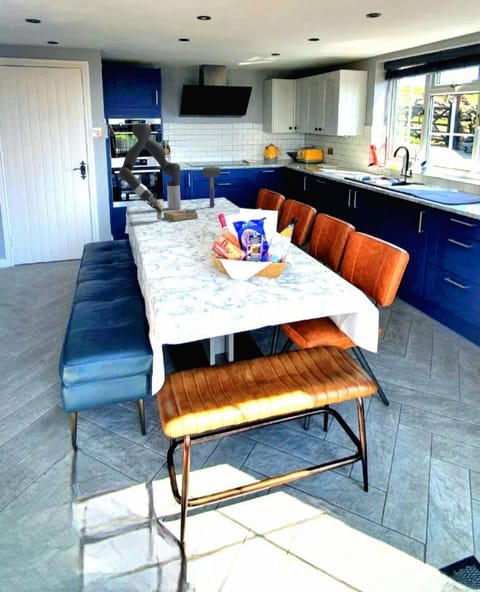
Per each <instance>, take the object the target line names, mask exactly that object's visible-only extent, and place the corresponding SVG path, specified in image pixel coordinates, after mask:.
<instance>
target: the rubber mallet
mask: <svg viewBox="0 0 480 592" xmlns="http://www.w3.org/2000/svg"><path fill="white" fill-rule="evenodd" d="M202 176H203V177H204V178H209V207H210V208H215V205H216V203H215V188H214V178H216V177H217V178H219V177H221V168H220V167H219V166H207V167H204V166H203V168H202Z"/></svg>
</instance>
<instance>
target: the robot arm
mask: <svg viewBox="0 0 480 592" xmlns="http://www.w3.org/2000/svg"><path fill="white" fill-rule="evenodd" d="M131 129H132V134H133V135H134V137H135V138H136V139H137V141H136V143H135V144H134V145H132V147H131V148H130V149H129V150H128V152H127V153H126V155H125V158H124V161H123V164H122V166H121V168H120V169H119V171H118V177H119V179H120V180H121V181H125V182H126V183H127V184H128V186H129V188H130V189H132V191H134V192H135V194H136V195H137V196H138V197H139V198H140V199H141V200H142V201H144V202H146V201H147V202H146V204H148V205H147V206H149V207H151V208H152V209H153V210H155V209H156V210H157V211H158V212H159V213H160V212H161V211H162V210H161V209H160V208H159V207H158V206H157V205H156V202H155V201H159V200H158V199H157V197H155V196H152V195H153V193H152V191H150V190H149V189H148V187H147V186H146V185H144V184H143V183H142V182H141V181H140V180H139V179H138V178H136V176H135V175H134V173H133V172H132V171H133V169H134V168H135V167H134V166H135V165H136V162H137V160H138V158H139V155H140V154H141V151H142V150H143V149H144V148H145V149H146V150H147V151H148V152H149V154H150V155H151V156H152V157H153V159H155V161H156V163H158V164H159V166H160V168H161V169H162V171H163V173H164V174H165V175H166V176H169V177H172V178H171V179H170V180H168V181H167V183H166V189H167V196H166V197H167V208H168V210H170V211H177V210H182V209H181V207H182V205H181V204H182V203H181V187H180V185H181V165H180V164H179V163H177V162H176V163H175V162H169V161H168V160H167V158H166V151H165V148H164V147H163V146H162V145H161V144H160V143H159V142H158V141H156V140H155V139H154V138H152V137H151V135H152V128H151V126H150V124H146V123H145V124H144V123H134V124H133V125H132V128H131ZM164 210H165V208H164V207H163V211H164Z"/></svg>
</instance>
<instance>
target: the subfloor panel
mask: <svg viewBox="0 0 480 592" xmlns="http://www.w3.org/2000/svg"><path fill="white" fill-rule="evenodd" d="M186 210H188V209H187V208H186V209H185V208H184V209H176V210H169V211H163V219H166V220H169V221H172V222H174V223H175V222H181V221H189V220H195V219H196V220H197V219H199V215H198V214H199V213H198V212H197V211H196V212H195V213H186Z"/></svg>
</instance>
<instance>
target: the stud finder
mask: <svg viewBox="0 0 480 592" xmlns="http://www.w3.org/2000/svg"><path fill="white" fill-rule="evenodd" d="M195 212H197V210H196V208H189V209H187V210H186V213H195Z"/></svg>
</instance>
